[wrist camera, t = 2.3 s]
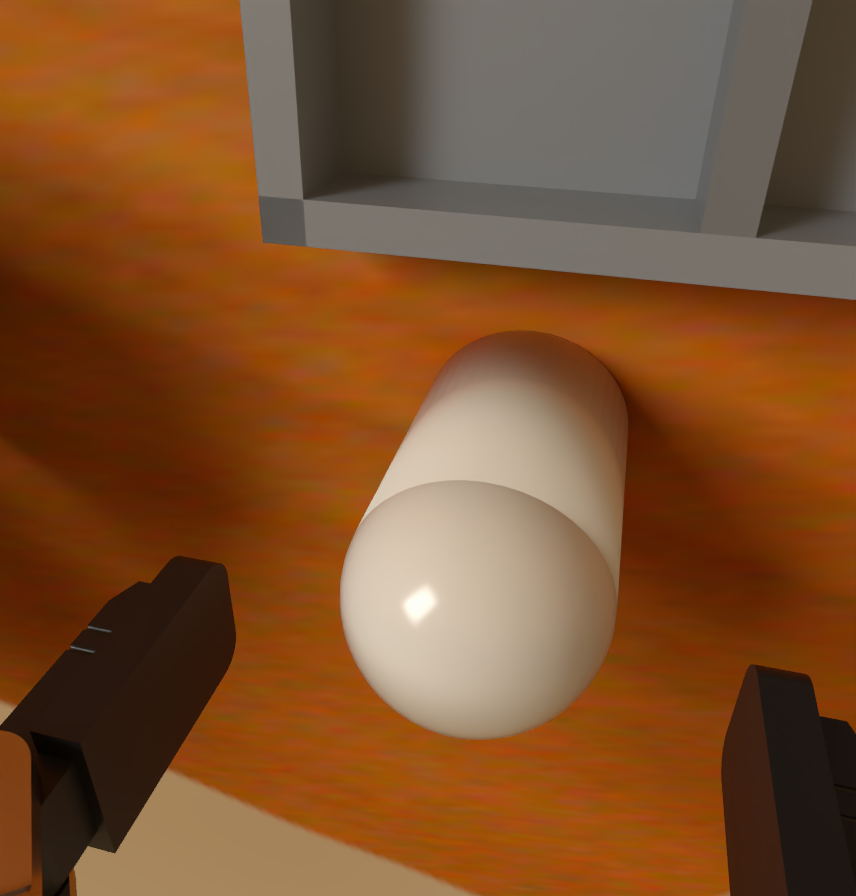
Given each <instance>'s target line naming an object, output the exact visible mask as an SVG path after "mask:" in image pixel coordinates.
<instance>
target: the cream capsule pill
mask: <svg viewBox="0 0 856 896" xmlns="http://www.w3.org/2000/svg"><path fill="white" fill-rule="evenodd" d="M628 428H629V424H628V412H627V408H626V403H625V400H624V397H623V395H622V392H621V390H620V388H619V386H618V384H617V383H616V381H615V379H614V378H613V376H612V375H611V374H610V372H609V371H608V370H607V369H606V368H605V366H604V365H603V364H602V363H601V362H600V361H599V360H598V359H596V358H595V357H594V356H593V355H591V354H590V353H589V352H587V351H586V350H584V349H583V348H581V347H579V346H578V345H576V344H574V343H572V342H570V341H568V340H565V339H563V338H560V337H557V336H554V335H551V334H547V333H541V332H535V331H506V332H501V333H496V334H492V335H489V336H486V337H483V338H480V339H478V340H476V341H474V342H472V343H470V344H468V345H466V346H465V347H463V348H462V349H461V350H459V351H458V352H457V353H455V354H454V355H453V356H452V357H451V358H450V359H449V360H448V361H447V362H446V364H445V365H444V366H443V367H442V369H441V370H440V372H439V374H438V375H437V377H436V379H435V380H434V382H433V384H432V386H431V388H430V390H429V392H428V394H427V396H426V398H425V400H424V402H423V403H422V405H421V407H420V409H419V411H418V413H417V415H416V417H415V419H414V421H413V423H412V425H411V426H410V428H409V430H408V432H407V434H406V436H405V438H404V440H403V442H402V444H401V446H400V448H399V449H398V451H397V453H396V455H395V457H394V459H393V461H392V463H391V465H390V467H389V469H388V471H387V472H386V474H385V476H384V478H383V480H382V482H381V484H380V486H379V488H378V490H377V492H376V494H375V495H374V497H373V499H372V501H371V503H370V505H369V507H368V509H367V511H366V513H365V515H364V517H363V518H362V520H361V522H360V524H359V526H358V528H357V530H356V532H355V534H354V537H353V539H352V541H351V544H350V546H349V549H348V552H347V554H346V557H345V561H344V566H343V571H342V576H341V581H340V612H341V619H342V624H343V630H344V634H345V637H346V641H347V644H348V646H349V649H350V652H351V654H352V656H353V658H354V661H355V663H356V665H357V667H358V668H359V670H360V671H361V673H362V675H363V676H364V678H365V679H366V681H367V682H368V684H369V685H370V686H371V687H372V689H373V690H374V691H375V692H376V694H377V695H378V696H379V697H380V698H381V699H382V700H383V701H384V702H386V703H387V704H388V705H389V706H390V707H392V708H393V709H394V710H395V711H397V712H398V713H399V714H400V715H402V716H403V717H405V718H406V719H408V720H409V721H411V722H413V723H415V724H417V725H419V726H421V727H423V728H425V729H427V730H430V731H433V732H436V733H438V734H442V735H446V736H449V737H454V738H460V739H470V740H488V739H498V738H506V737H510V736H515V735H518V734H521V733H524V732H527V731H529V730H532V729H534V728H537V727H539V726H541V725H543V724H545V723H547V722H548V721H550V720H551V719H553V718H554V717H556V716H557V715H559V714H560V713H562V712H563V711H564V710H566V709H567V708H568V707H569V706H570V705H572V704H573V703H574V702H575V701H576V700H577V699H578V698H579V697H580V696H581V694H582V693H583V692H584V691H585V690H586V689H587V687H588V686H589V685H590V683H591V682H592V681H593V679H594V678H595V676H596V674H597V673H598V671H599V669H600V667H601V665H602V663H603V662H604V660H605V658H606V655H607V652H608V649H609V647H610V644H611V640H612V637H613V634H614V628H615V622H616V614H617V604H618V588H619V572H620V556H621V540H622V524H623V508H624V492H625V476H626V460H627V444H628Z"/></svg>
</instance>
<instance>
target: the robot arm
mask: <svg viewBox="0 0 856 896" xmlns="http://www.w3.org/2000/svg"><path fill="white" fill-rule="evenodd" d="M235 642H236V630H235V623H234V616H233V610H232V603H231V596H230V589H229V582H228V575H227V571H226V568H225V567H224V565H222V564H220V563H215V562H210V561H204V560H199V559H194V558H188V557H183V556H176V557H174V558H172V559H171V560H170V561H169V562H168V563H167V564H166V566H165V567H164V568H163V569H162V571H161V572H160V573H159V574H158V575H157V577H156V578H155V579H154V580H153V581H152V583H151V584H150V583H145V582H137V583H136V584H134V585H133V586H131V587H130V588H128V589H126V590H125V591H123V592H122V593H120V594H119V595H117V596H115V597H114V598H112V599H111V600H109V601H108V602H107V603H106V605H105V606H104V607H103V608H102V609H101V610H100V612H99V613H98V614H97V615H96V616H95V617H94V618H93V620H92V621H91V622H90V623H89V624H88V628H87V630H83V631H82V632H81V633H80V635H79V636H78V637H77V638H76V639H75V640H74V641H73V643H72V644H71V648H70V650H66V651H65V652H64V653H63V654H62V655H61V656H60V658H59V659H58V660H57V661H56V662H55V663H54V665H53V666H52V667H51V668H50V669H49V670H48V671H47V673H46V674H45V675H44V676H43V677H42V678H41V680H40V681H39V682H38V683H37V684H36V685H35V686H34V688H33V689H32V690H31V691H30V692H29V693H28V695H27V696H26V697H25V698H24V699H23V700H22V701H21V703H20V704H19V705H18V706H17V707H16V708H15V709H14V711H13V712H12V713H11V714H10V715H9V716H8V718H7V719H6V720H5V721H4V722H3V723H2V724H1V725H0V896H77V890H76V876H75V871H74V866H75V865H76V863H77V862H78V860H79V859H80V857H81V855H82V854H83V852H84V850H85V849H86V848H87V846H90V847H94V848H97V849H101V850H105V851H108V852H112V853H116V851H117V849H118V847H119V846H120V844H121V843H122V841H123V840H124V838H125V836H126V835H127V833H128V831H129V830H130V828H131V826H132V825H133V823H134V822H135V820H136V818H137V817H138V815H139V813H140V812H141V810H142V808H143V807H144V805H145V803H146V802H147V800H148V798H149V797H150V795H151V794H152V792H153V791H154V789H155V787H156V786H157V784H158V782H159V781H160V779H161V777H162V776H163V774H164V773H165V771H166V769H167V768H168V766H169V765H170V763H171V761H172V760H173V758H174V756H175V755H176V753H177V752H178V750H179V748H180V747H181V745H182V743H183V742H184V740H185V739H186V737H187V735H188V734H189V732H190V730H191V729H192V727H193V725H194V724H195V722H196V721H197V719H198V717H199V716H200V714H201V712H202V711H203V709H204V708H205V706H206V704H207V703H208V701H209V699H210V698H211V696H212V695H213V693H214V691H215V690H216V688H217V686H218V685H219V683H220V681H221V680H222V678H223V677H224V675H225V673H226V672H227V670H228V668H229V665H230V663H231V660H232V657H233V653H234V649H235ZM721 777H722V792H723V805H724V818H725V831H726V844H727V857H728V870H729V883H730V896H856V733H855V732H854V731H853V729H852V728H851V727H850V725H849V724H848V722H847V721H841V720H836V719H831V718H826V717H821V716H819V712H818V708H817V703H816V698H815V694H814V689H813V685H812V681H811V679H810V677H809V676H808V675H807V674H802V673H796V672H791V671H786V670H780V669H775V668H769V667H764V666H759V665H753V664H751V665H750V666H749V667H748V669H747V672H746V674H745V677H744V680H743V684H742V687H741V690H740V693H739V696H738V699H737V702H736V705H735V708H734V711H733V714H732V717H731V721H730V724H729V727H728V730H727V733H726V737H725V741H724V747H723V754H722V769H721Z"/></svg>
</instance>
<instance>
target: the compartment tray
mask: <svg viewBox="0 0 856 896" xmlns="http://www.w3.org/2000/svg"><path fill="white" fill-rule="evenodd" d="M240 8H241V19H242V29H243V39H244V50H245V60H246V70H247V81H248V91H249V101H250V112H251V122H252V132H253V143H254V153H255V164H256V174H257V184H258V195H259V205H260V215H261V226H262V236H263V242H264V243H274V244H284V245H295V246H305V247H315V248H326V249H336V250H346V251H357V252H367V253H377V254H388V255H398V256H408V257H419V258H429V259H439V260H450V261H460V262H470V263H481V264H491V265H501V266H511V267H522V268H532V269H542V270H553V271H563V272H573V273H584V274H594V275H604V276H615V277H625V278H635V279H646V280H656V281H666V282H677V283H687V284H697V285H708V286H718V287H728V288H739V289H749V290H759V291H769V292H780V293H790V294H800V295H811V296H821V297H831V298H842V299H852V300H856V0H240Z"/></svg>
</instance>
